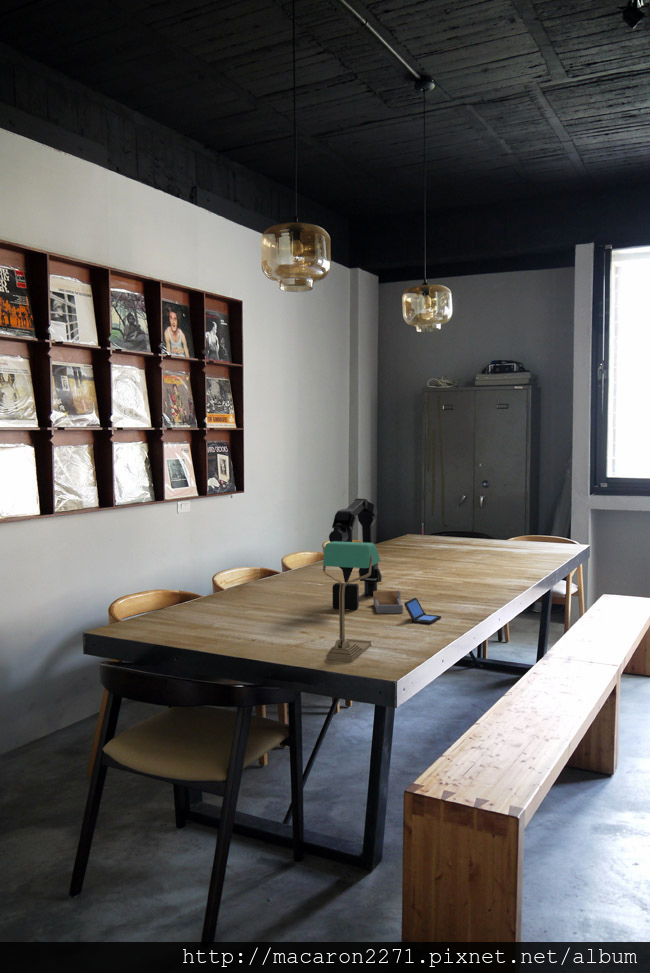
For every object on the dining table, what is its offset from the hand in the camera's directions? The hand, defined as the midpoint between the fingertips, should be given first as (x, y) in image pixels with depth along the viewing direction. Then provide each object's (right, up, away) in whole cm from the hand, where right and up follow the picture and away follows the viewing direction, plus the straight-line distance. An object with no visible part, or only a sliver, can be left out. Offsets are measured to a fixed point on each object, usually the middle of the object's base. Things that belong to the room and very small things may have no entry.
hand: (345, 580), depth 303 cm
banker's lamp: (0, -15, -62) cm, 64 cm away
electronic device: (0, -12, +1) cm, 12 cm away
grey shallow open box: (+17, -11, 0) cm, 21 cm away
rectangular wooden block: (+17, -11, +7) cm, 21 cm away
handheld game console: (+28, -13, -20) cm, 37 cm away
